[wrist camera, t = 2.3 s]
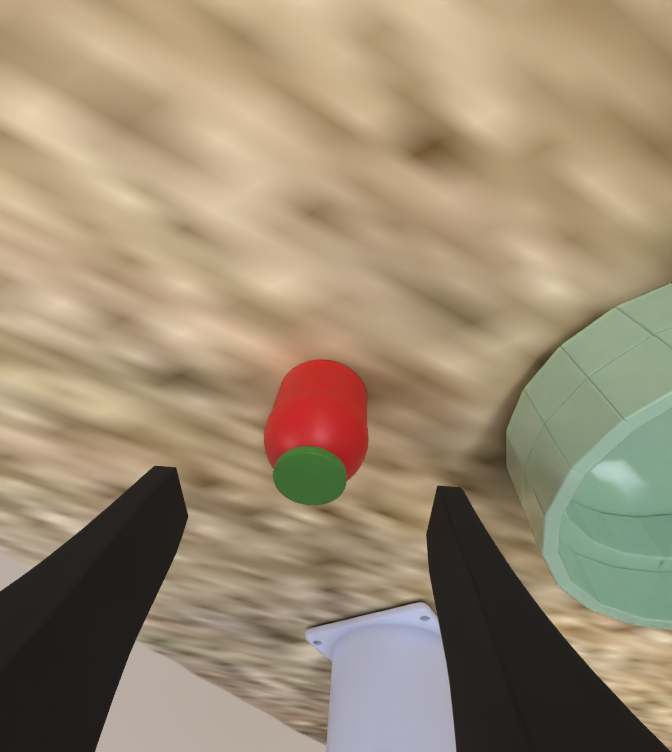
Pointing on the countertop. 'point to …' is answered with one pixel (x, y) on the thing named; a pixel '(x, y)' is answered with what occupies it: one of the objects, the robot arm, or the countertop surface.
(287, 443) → the strawberry
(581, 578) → the bowl
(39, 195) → the countertop surface
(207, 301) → the countertop surface
